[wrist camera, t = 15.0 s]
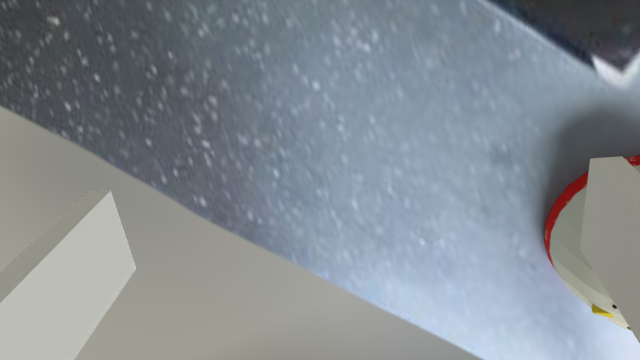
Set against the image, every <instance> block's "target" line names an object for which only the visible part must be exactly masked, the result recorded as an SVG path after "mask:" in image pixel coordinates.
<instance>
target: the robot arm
mask: <svg viewBox="0 0 640 360" xmlns="http://www.w3.org/2000/svg"><path fill="white" fill-rule="evenodd" d="M580 250H581V252H582V253H583V255H584V256H585V258H586V259H587V261H588V263H589V264H590V266H591V267H592V269H593V270H594V272H595V274H596V275H597V277H598V278H599V280H600V281H601V283H602V285H603V286H604V288H605V289H606V291H607V292H608V294H609V296H610V297H611V299H612V300H613V302H614V303H615V305H616V307H617V308H618V310H619V311H620V313H621V314H622V316H623V318H624V319H625V321H626V322H627V324H628V325H629V327H630V329H631V330H632V332H633V333H634V335H635V336H636V338H637V340H638V341H639V343H640V173H639V172H638V171H637V170H636V169H635V168H634V167H633V166H632V165H631V164H630V163H629V162H628V161H627V160H625V159H624V158H623V157H622V156H619V157H604V158H590V164H589V173H588V181H587V190H586V198H585V207H584V215H583V224H582V232H581V241H580ZM135 270H136V267H135V264H134V260H133V257H132V254H131V251H130V248H129V245H128V242H127V239H126V236H125V233H124V230H123V227H122V224H121V221H120V218H119V215H118V211H117V208H116V205H115V202H114V200H113V197H112V193H111V191H97V192H86V193H85V194H84V195H82V196H81V197H80V198H79V199H78V200H77V201H76V202H75V203H74V204H73V205H72V206H71V207H70V208H69V209H68V210H67V211H65V212H64V213H63V214H62V215H61V216H60V217H59V218H58V219H57V220H56V221H55V222H54V223H53V224H52V225H51V226H49V227H48V228H47V229H46V230H45V231H44V232H43V233H42V234H41V235H40V236H39V237H38V238H37V239H36V240H35V241H34V242H33V243H31V244H30V245H29V246H28V247H27V248H26V249H25V250H24V251H23V252H22V253H21V254H20V255H19V256H18V257H17V258H15V259H14V260H13V261H12V262H11V263H10V264H9V265H8V266H7V267H6V268H5V269H4V270H3V271H2V272H1V273H0V360H74V359H75V358H76V356H77V355H78V353H79V352H80V350H81V349H82V347H83V346H84V344H85V343H86V341H87V340H88V339H89V337H90V336H91V334H92V333H93V331H94V330H95V328H96V327H97V325H98V324H99V322H100V321H101V319H102V318H103V317H104V315H105V313H106V312H107V311H108V309H109V308H110V306H111V305H112V303H113V302H114V300H115V299H116V297H117V296H118V294H119V293H120V292H121V290H122V289H123V287H124V286H125V284H126V283H127V282H128V280H129V279H130V277H131V276H132V274H133V273H134V271H135Z"/></svg>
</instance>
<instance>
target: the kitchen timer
mask: <svg viewBox="0 0 640 360" xmlns="http://www.w3.org/2000/svg"><path fill="white" fill-rule="evenodd" d="M624 159H625V160H627V161H628V162H629V163H630V164H631V165H632V166H633V167H634V168H635V169H636V170H637V171H638V172H639V173H640V155H639V156H633V157H628V158H624ZM588 173H589V171H588V172H586V173H585V174H584V175H582V176H581V177H580V178H578V179H577V180H575V181H574V182H573V183H571V184H570V185H569V186H568V187H567V188H566V189H565V191H564V192H563V193H562V194H561V195H560V197H559V198H558V199H557V200H556V201H555V203H554V205H553V207H552V209H551V211H550V214H549V216H548V218H547V220H546V225H545V236H544V243H545V246H546V250H547V254H548V257H549V260H550V261H551V263H552V265H553V267H554V269H555V270H556V272H557V273H558V274H559V276H560V277H561V278H562V280H563V281H564V283H565V284H566V285H567V287H568V288H569V289H570V290H571V291H572V292H573V293H574V294H575V295H576V296H577V297H578V298H580V299H581V300H582V301H583V302H585V303H586V304H587V305H589V306H590V307H591V308H592V312H593V313H595V314H599V315H602V316H604V317H605V318H607V319H608V320H610V321H611V322H613V323H615V324H616V325H618V326H620V327H623V328H625V329H628V330H631V329H630V327H629V325H628V324H627V322H626V321H625V319H624V318H623V316H622V314H621V313H620V311H619V310H618V308H617V307H616V305H615V303H614V302H613V300H612V299H611V297H610V296H609V294H608V292H607V291H606V289H605V288H604V286H603V285H602V283H601V281H600V280H599V278H598V277H597V275H596V274H595V272H594V270H593V269H592V267H591V266H590V264H589V263H588V261H587V259H586V258H585V256H584V255H583V253H582V252H581V250H580V241H581V232H582V224H583V215H584V207H585V198H586V190H587V181H588ZM631 331H632V330H631Z"/></svg>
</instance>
